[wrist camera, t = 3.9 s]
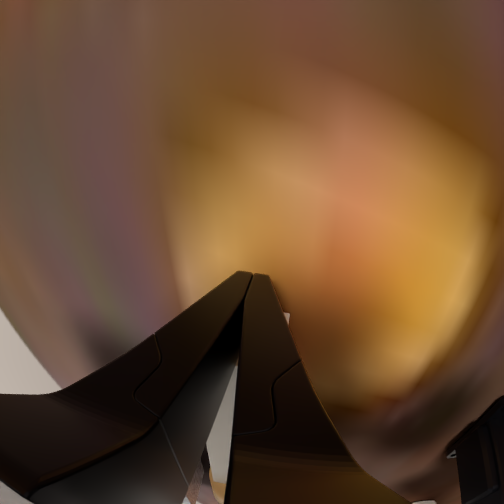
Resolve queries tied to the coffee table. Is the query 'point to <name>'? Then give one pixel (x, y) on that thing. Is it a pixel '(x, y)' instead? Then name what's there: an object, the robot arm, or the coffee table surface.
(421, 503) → the white cup
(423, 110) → the coffee table surface
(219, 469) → the white elongated bar
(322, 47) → the coffee table surface
